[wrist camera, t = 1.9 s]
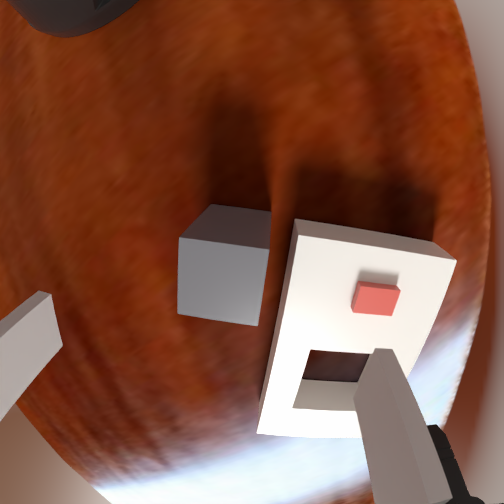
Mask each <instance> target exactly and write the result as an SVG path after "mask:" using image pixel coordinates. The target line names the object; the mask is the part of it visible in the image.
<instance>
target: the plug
mask: <svg viewBox="0 0 504 504" xmlns="http://www.w3.org/2000/svg"><path fill="white" fill-rule="evenodd" d="M270 230H271V212H269V211H262V210H255V209H247V208H240V207H232V206H224V205H215V204H210V205H209V207H208V208H207V209H206V210H205V211H204V212H203V213H202V214H201V215H200V216H199V217H198V218H197V219H196V220H195V221H194V222H193V223H192V224H191V225H190V226H189V227H188V228H187V229H186V231H185V232H184V233H183V234H182V235H181V236H180V237H179V257H178V314H184V315H189V316H195V317H201V318H207V319H213V320H219V321H226V322H232V323H239V324H246V325H253V326H258V320H259V314H260V307H261V301H262V295H263V288H264V282H265V275H266V269H267V262H268V255H269V247H270Z"/></svg>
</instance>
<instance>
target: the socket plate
mask: <svg viewBox="0 0 504 504" xmlns="http://www.w3.org/2000/svg"><path fill="white" fill-rule="evenodd" d="M456 262H457V260H456V259H455V258H453V257H452V256H451V255H449V254H448V253H447V252H446V251H444V250H443V249H442V248H441V247H439V246H438V245H437V244H435V243H434V242H430V241H425V240H419V239H414V238H409V237H403V236H398V235H392V234H387V233H381V232H375V231H369V230H364V229H358V228H352V227H346V226H339V225H333V224H327V223H320V222H314V221H307V220H301V219H294V225H293V231H292V237H291V243H290V249H289V255H288V261H287V266H286V272H285V277H284V283H283V288H282V294H281V299H280V304H279V310H278V315H277V320H276V325H275V330H274V335H273V340H272V345H271V350H270V355H269V360H268V365H267V370H266V374H265V379H264V384H263V388H262V393H261V398H260V402H259V411H258V424H257V433H260V434H270V435H282V436H297V437H322V438H354V437H362V435H361V431H360V426H359V422H358V417H357V413H356V409H355V405H354V400H353V397H354V395H355V393H356V390H357V388H358V386H359V384H360V382H361V380H362V377H363V375H364V373H365V371H366V368H367V366H368V364H369V361H370V359H371V356H372V354H373V352H374V349H375V348H385V349H393V351H394V353H395V355H396V357H397V359H398V362H399V364H400V366H401V368H402V370H403V372H404V374H405V377H406V379H407V377H408V375H409V373H410V371H411V369H412V367H413V366H414V364H415V362H416V360H417V358H418V356H419V354H420V351H421V349H422V347H423V345H424V343H425V341H426V339H427V337H428V334H429V332H430V330H431V328H432V325H433V323H434V321H435V318H436V316H437V314H438V311H439V309H440V306H441V304H442V301H443V299H444V296H445V293H446V291H447V288H448V285H449V282H450V280H451V277H452V274H453V271H454V268H455V265H456ZM310 349H313V350H324V351H337V352H351V353H368V354H370V355H369V358H368V360H367V362H366V365H365V367H364V369H363V372H362V374H361V376H360V378H359V380H358V382H335V381H318V380H305V379H301V378H302V375H303V372H304V369H305V365H306V362H307V359H308V355H309V352H310Z"/></svg>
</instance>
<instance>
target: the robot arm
mask: <svg viewBox="0 0 504 504" xmlns="http://www.w3.org/2000/svg"><path fill="white" fill-rule="evenodd" d="M7 1H8V2H9V3H10V4H11V5H12V6H13V7H14V8H15V10H16V11H17V12H19V13H20V14H21V15H22V16H23V17H24V18H25V19H26V20H27V21H28V23H29V24H30V25H31V26H32V27H33V28H35V29H36V30H38V31H40V32H43V33H46V34H50V35H53V36H56V37H74V36H79V35H82V34H85V33H88V32H91V31H93V30H95V29H98V28H100V27H102V26H104V25H105V24H107V23H109V22H111V21H112V20H114V19H115V18H117V17H118V16H120V15H121V14H123V13H124V12H125V11H127V10H128V9H129V8H131V7H132V6H133V5H134V4H135V3H137V2H138V1H139V0H7ZM62 346H63V345H62V341H61V337H60V333H59V329H58V325H57V320H56V316H55V311H54V307H53V302H52V297H51V294H49V293H45V292H42V291H38V292H36V293H35V294H34V295H32V296H31V297H30V298H29V299H27V300H26V301H25V302H24V303H22V304H21V305H20V306H19V307H17V308H16V309H15V310H14V311H12V312H11V313H10V314H9V315H8V316H6V317H5V318H4V319H3V320H2V321H0V421H1V420H2V418H3V417H4V416H5V414H6V413H7V412H8V411H9V409H10V408H11V406H12V405H13V404H14V403H15V402H16V400H17V399H18V398H19V397H20V395H21V394H22V393H23V392H24V390H25V389H26V388H27V387H28V386H29V384H30V383H31V382H32V381H33V380H34V378H35V377H36V376H37V375H38V374H39V372H40V371H41V370H42V369H43V368H44V367H45V365H46V364H47V363H48V362H49V361H50V360H51V358H52V357H53V356H54V355H55V354H56V353H57V352H58V350H59V349H60V348H61V347H62ZM353 400H354V405H355V409H356V413H357V417H358V422H359V426H360V431H361V435H362V440H363V445H364V449H365V454H366V459H367V464H368V469H369V474H370V479H371V485H372V490H373V496H374V502H375V504H485V503H484V502H483V501H482V500H481V499H479V498H477V497H472V496H470V494H469V492H468V490H467V487H466V485H465V482H464V479H463V477H462V474H461V471H460V469H459V466H458V463H457V461H456V459H454V453H453V451H452V449H450V447H451V446H450V444H449V441H448V439H447V437H446V434H445V433H444V432H443V431H442V430H441V429H440V428H439V427H438V426H437V425H436V424H435V425H428V426H426V423H425V421H424V418H423V416H422V413H421V411H420V409H419V406H418V404H417V402H416V399H415V397H414V395H413V392H412V390H411V388H410V386H409V383H408V381H407V379H406V377H405V374H404V372H403V370H402V368H401V366H400V364H399V362H398V359H397V357H396V355H395V353H394V351H393V349H385V348H375V349H374V352H373V354H372V356H371V359H370V361H369V364H368V366H367V368H366V371H365V373H364V375H363V377H362V380H361V382H360V384H359V386H358V388H357V390H356V393H355V395H354V397H353ZM501 504H504V503H501Z"/></svg>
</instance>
